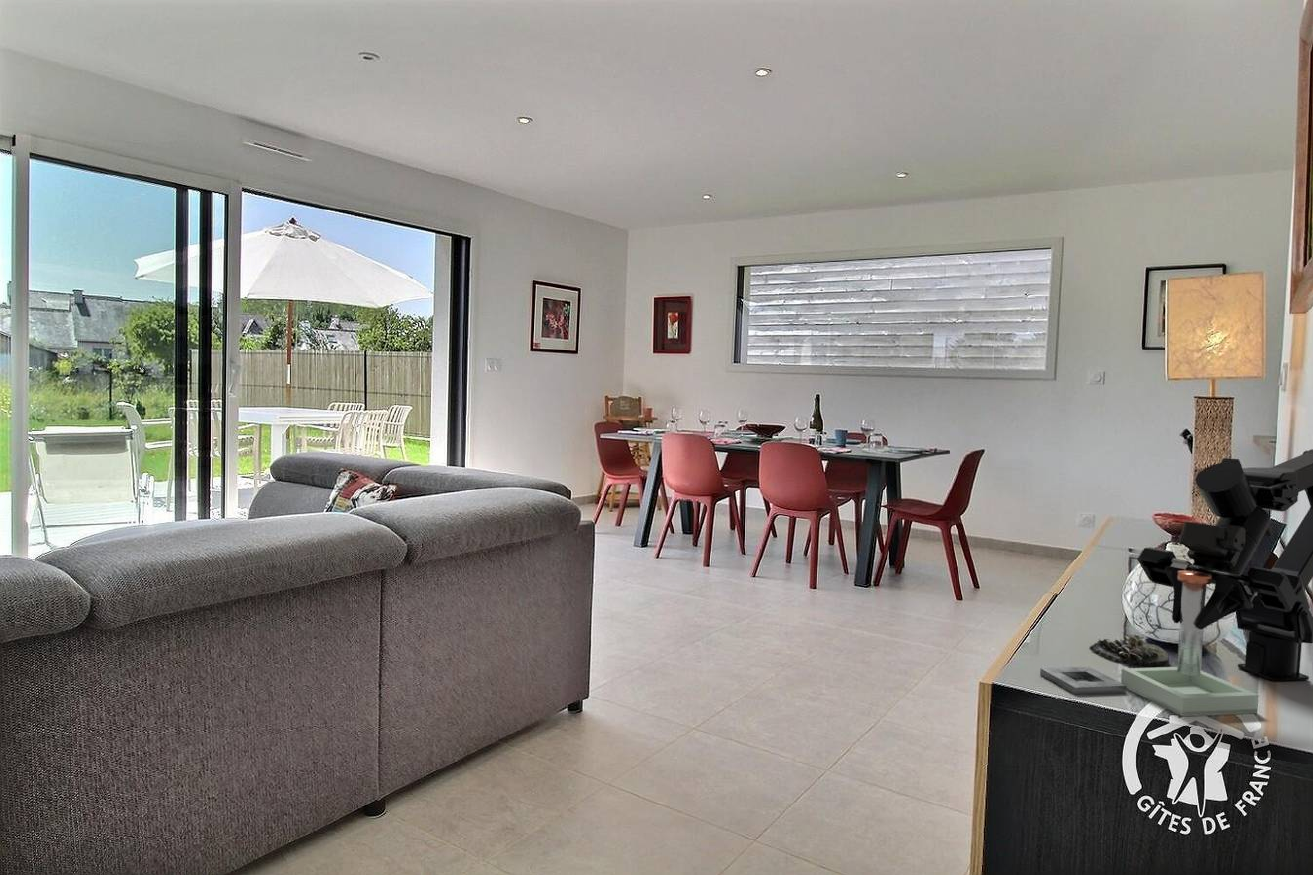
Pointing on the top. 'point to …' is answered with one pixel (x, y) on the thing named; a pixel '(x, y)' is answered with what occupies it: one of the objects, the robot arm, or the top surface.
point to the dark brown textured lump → (1131, 652)
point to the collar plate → (1097, 685)
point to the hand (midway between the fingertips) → (1186, 624)
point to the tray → (1189, 692)
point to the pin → (1191, 621)
